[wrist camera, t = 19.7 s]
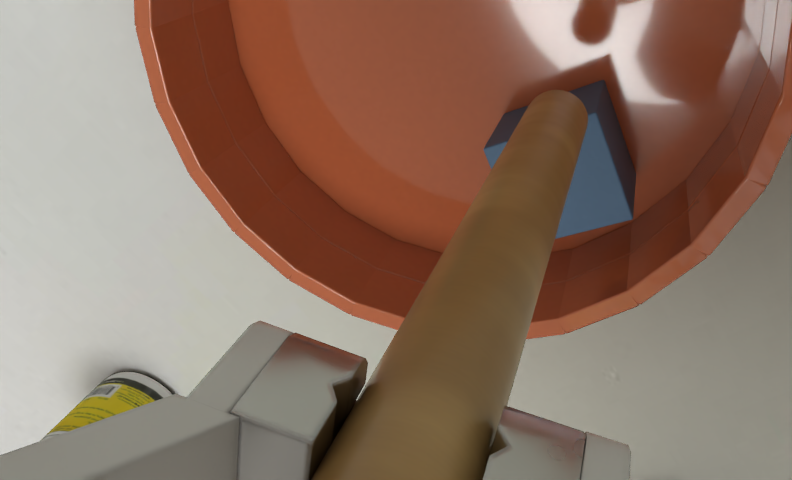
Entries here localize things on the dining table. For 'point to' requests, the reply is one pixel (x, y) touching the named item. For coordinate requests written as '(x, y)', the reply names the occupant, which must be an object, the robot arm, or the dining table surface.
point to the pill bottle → (111, 400)
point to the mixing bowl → (464, 130)
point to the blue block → (587, 165)
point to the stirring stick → (467, 318)
